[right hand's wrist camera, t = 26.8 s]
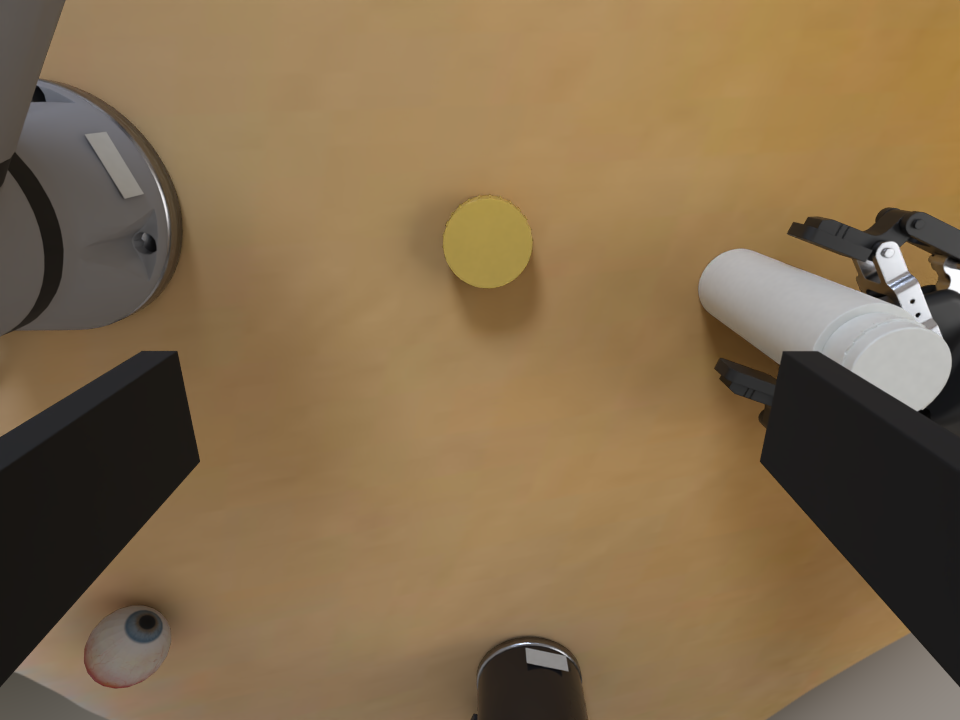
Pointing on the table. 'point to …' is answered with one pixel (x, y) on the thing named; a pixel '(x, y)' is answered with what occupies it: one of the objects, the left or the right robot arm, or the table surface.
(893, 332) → the jar
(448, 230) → the lid
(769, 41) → the table surface
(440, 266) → the table surface
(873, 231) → the left robot arm
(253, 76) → the table surface
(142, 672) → the eyeball
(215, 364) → the table surface
